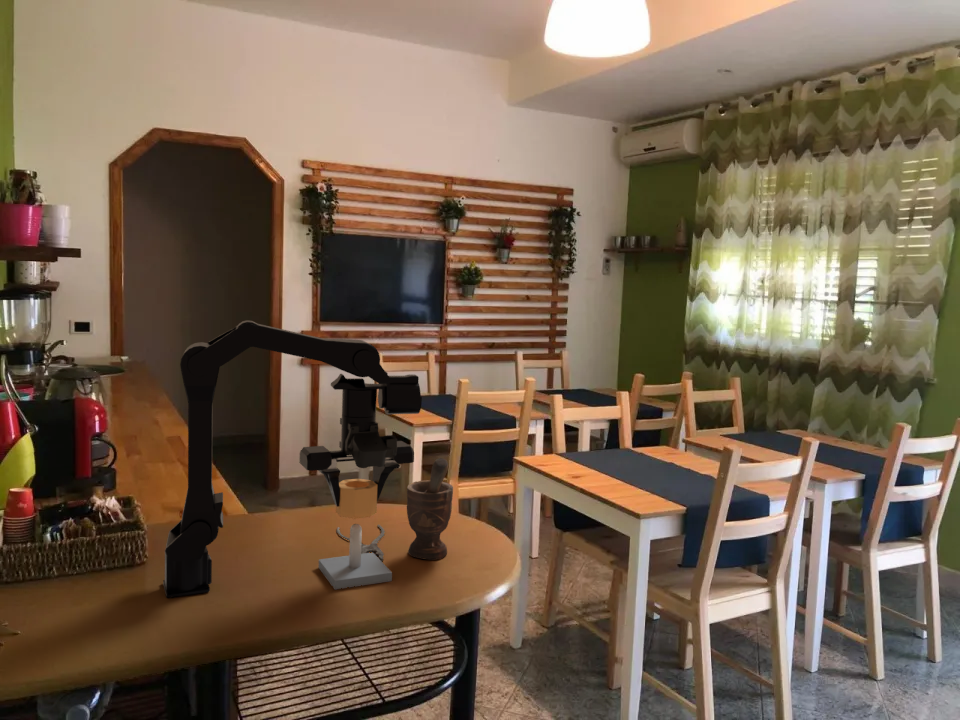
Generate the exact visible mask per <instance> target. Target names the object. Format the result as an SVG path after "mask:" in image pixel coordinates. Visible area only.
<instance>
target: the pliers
mask: <svg viewBox="0 0 960 720" xmlns="http://www.w3.org/2000/svg"><path fill="white" fill-rule="evenodd" d="M377 526H378V527H379V528H380V529H381V530H380V529H379V528H378V527H377ZM377 526H376V527H377V528H378V529H379V530H380V534H379V535H378V536H377V537H376V538H375V539H372V541H371V543H370V544H366V543H365V544H364V543H362V542H361V554H364V553H369V552H373V553H374V554H375V555H376V556H378V558H379V559H380V560H381V561H383V562H384V557H385V556H384V555H385V553H384V552H383V550H382V549H381V548H380V547H379V546H378V544H379V542H380V541H381V540H382V539H383V538H384V537H383V536H385V534H384V533H385V531H386V530H385V529H384V527H382V526H381V524H377ZM339 529H341V528H340V527H339V526H338V527H337V528H336V534H337V533H338V534H339V535H340V536H341V537H343V538H345V539H347V540H349V541H350V537H348V536H345V535H343V534H342V533H341V531H340V530H339ZM338 534H337V535H338ZM341 537H340V538H341ZM382 537H383V538H382ZM381 538H382V539H381ZM380 539H381V540H380ZM379 540H380V541H379ZM378 541H379V542H378ZM377 543H378V544H377ZM383 556H384V557H383Z"/></svg>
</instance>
